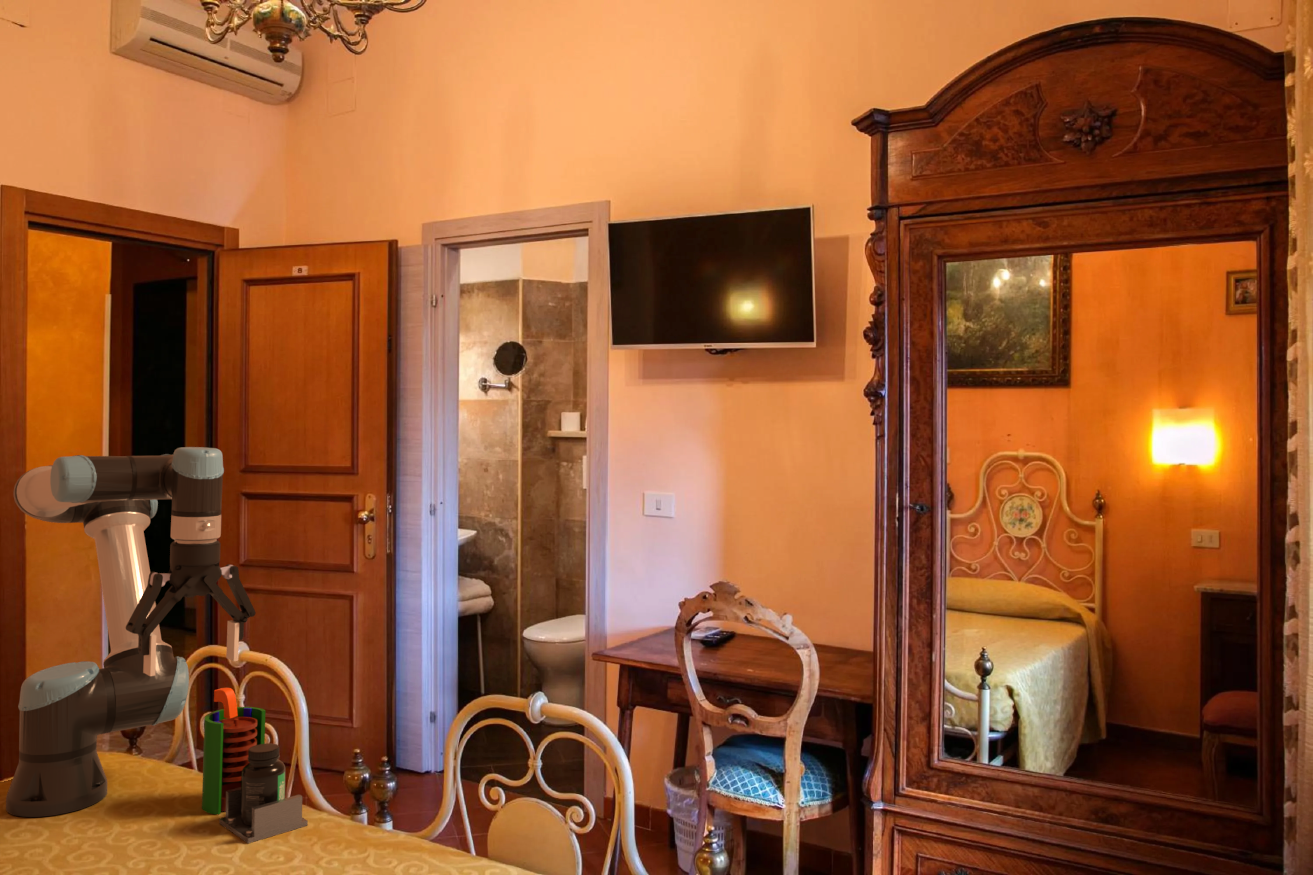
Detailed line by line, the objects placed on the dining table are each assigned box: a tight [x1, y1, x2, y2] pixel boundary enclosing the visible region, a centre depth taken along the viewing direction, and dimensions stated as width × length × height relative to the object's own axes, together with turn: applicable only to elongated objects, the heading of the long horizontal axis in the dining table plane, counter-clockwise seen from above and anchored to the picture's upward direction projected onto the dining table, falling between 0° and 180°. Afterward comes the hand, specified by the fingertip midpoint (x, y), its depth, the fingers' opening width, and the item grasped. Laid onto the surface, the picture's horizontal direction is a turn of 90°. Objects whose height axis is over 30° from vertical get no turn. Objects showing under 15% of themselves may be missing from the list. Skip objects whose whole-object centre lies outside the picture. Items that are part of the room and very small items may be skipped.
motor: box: [201, 687, 266, 815], centre depth 167 cm, size 10×9×20 cm
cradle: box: [219, 787, 308, 844], centre depth 159 cm, size 11×10×5 cm
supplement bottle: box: [241, 742, 286, 826], centre depth 159 cm, size 7×7×12 cm
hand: (192, 666), depth 158 cm, fingers open, 13 cm apart
